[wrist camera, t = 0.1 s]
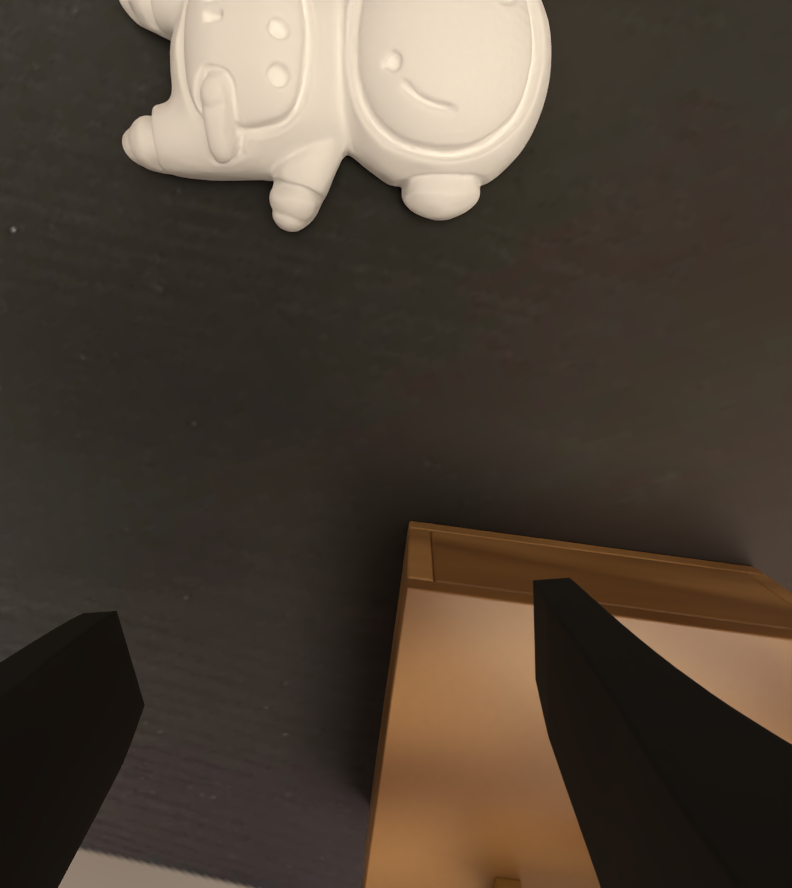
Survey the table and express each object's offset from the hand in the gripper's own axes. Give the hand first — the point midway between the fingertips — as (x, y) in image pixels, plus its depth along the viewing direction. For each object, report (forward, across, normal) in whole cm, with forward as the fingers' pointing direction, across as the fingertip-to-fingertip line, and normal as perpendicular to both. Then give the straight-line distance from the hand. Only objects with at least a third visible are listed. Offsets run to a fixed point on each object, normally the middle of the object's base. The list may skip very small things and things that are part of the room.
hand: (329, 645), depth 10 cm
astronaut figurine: (+11, 0, -11) cm, 16 cm away
